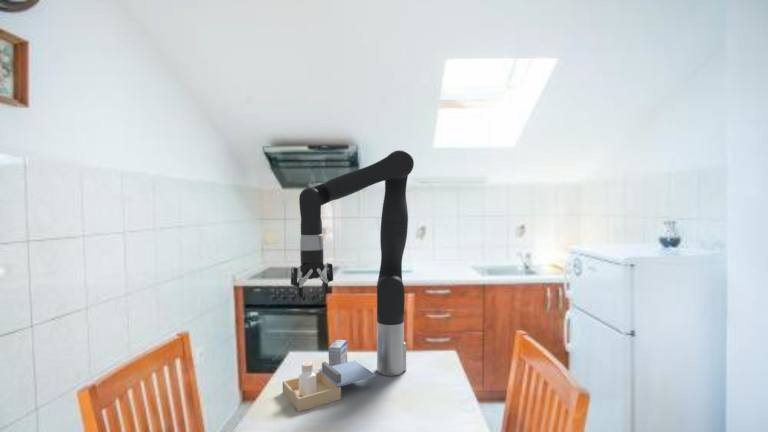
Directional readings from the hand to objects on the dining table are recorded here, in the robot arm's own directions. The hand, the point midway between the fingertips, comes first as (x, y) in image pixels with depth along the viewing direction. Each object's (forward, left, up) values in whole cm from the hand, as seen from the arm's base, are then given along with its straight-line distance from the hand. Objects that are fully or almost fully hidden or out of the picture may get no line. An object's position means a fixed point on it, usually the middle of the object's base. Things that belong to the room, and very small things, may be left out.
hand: (312, 296), depth 138 cm
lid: (-6, +13, -23) cm, 27 cm away
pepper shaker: (+8, +13, -26) cm, 30 cm away
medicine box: (-10, -1, -27) cm, 29 cm away
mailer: (+6, +13, -27) cm, 31 cm away
